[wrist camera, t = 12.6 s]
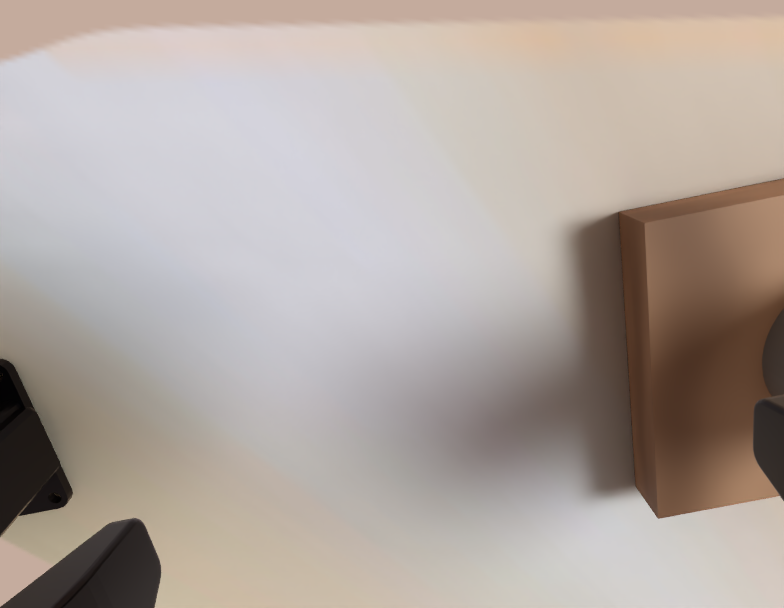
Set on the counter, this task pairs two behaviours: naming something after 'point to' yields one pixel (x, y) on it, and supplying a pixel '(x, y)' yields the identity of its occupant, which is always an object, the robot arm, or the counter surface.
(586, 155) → the counter surface
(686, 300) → the shelf board
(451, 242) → the counter surface
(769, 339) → the grey cylinder
